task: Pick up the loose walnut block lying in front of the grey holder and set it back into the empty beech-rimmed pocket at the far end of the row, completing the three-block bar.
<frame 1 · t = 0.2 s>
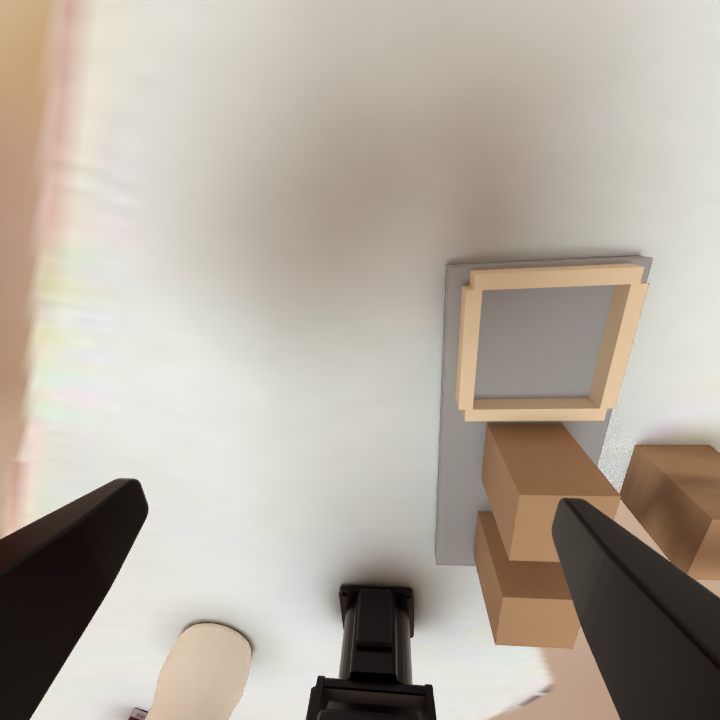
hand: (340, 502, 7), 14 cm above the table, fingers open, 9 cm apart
walnut block: (661, 472, 23), on the table
bottle: (218, 640, 36), on the table
holder: (515, 436, 23), on the table
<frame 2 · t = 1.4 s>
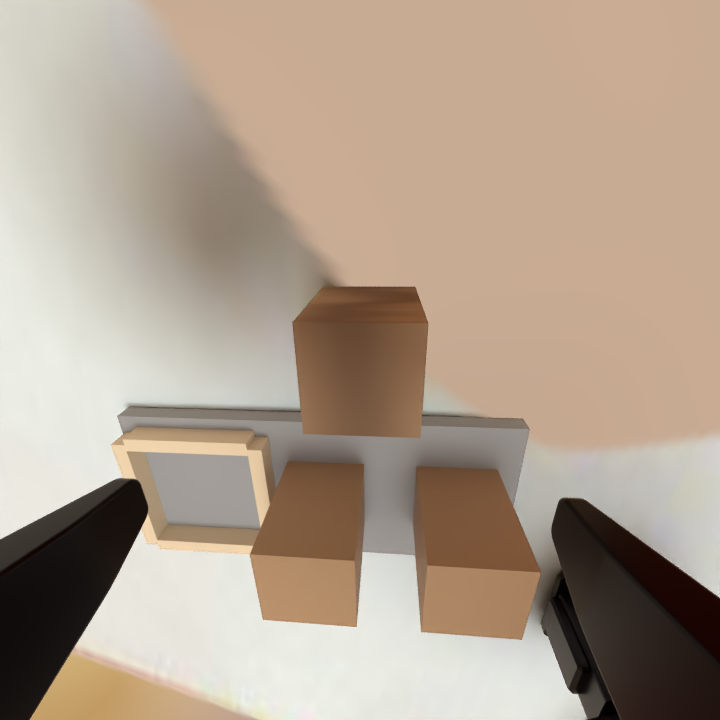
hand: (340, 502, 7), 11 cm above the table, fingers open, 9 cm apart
walnut block: (368, 330, 18), on the table
holder: (322, 480, 22), on the table
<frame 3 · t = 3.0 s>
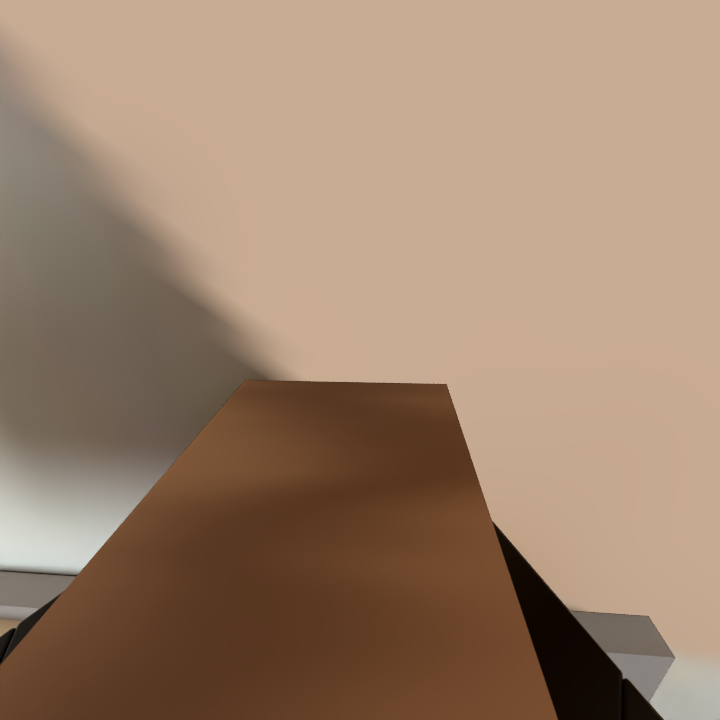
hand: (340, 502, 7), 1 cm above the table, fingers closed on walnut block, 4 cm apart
walnut block: (346, 463, 9), on the table, touching gripper
holder: (274, 678, 13), on the table
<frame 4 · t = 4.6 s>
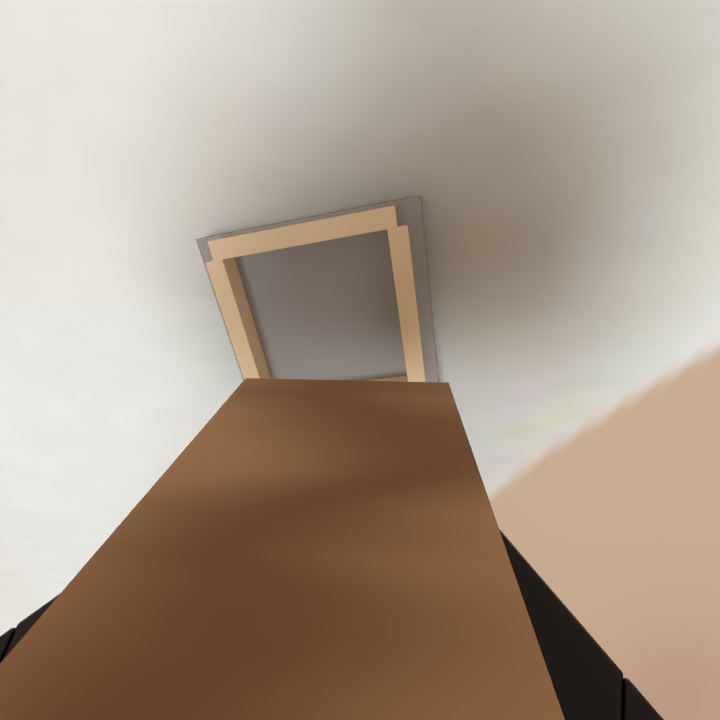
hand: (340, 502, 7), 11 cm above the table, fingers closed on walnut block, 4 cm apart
walnut block: (347, 461, 9), point 10 cm above the table, touching gripper
holder: (353, 429, 20), on the table
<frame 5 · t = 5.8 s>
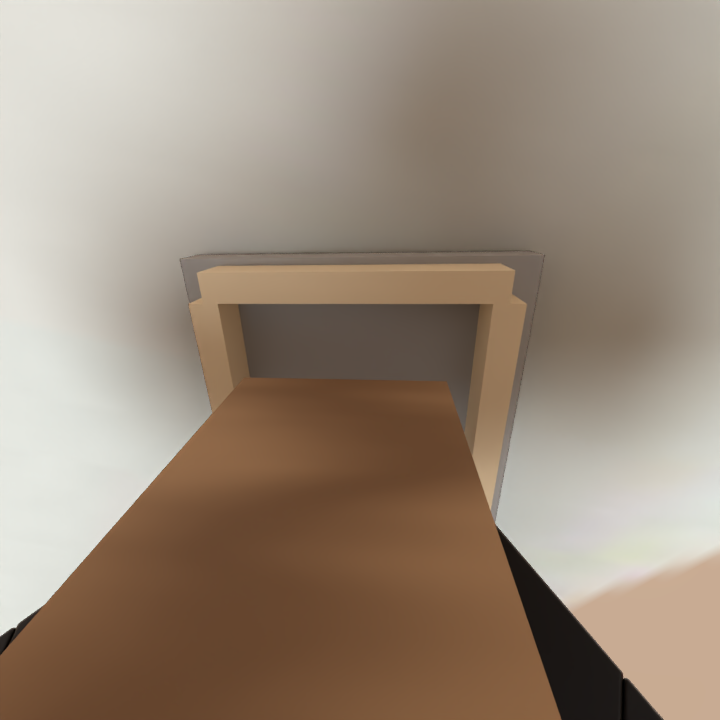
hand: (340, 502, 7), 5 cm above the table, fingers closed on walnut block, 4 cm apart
walnut block: (346, 461, 8), point 4 cm above the table, touching gripper
holder: (363, 530, 15), on the table
when the fingers open (3 cm above the table, at t = 6.5 s): walnut block drops 1 cm, resting on holder.
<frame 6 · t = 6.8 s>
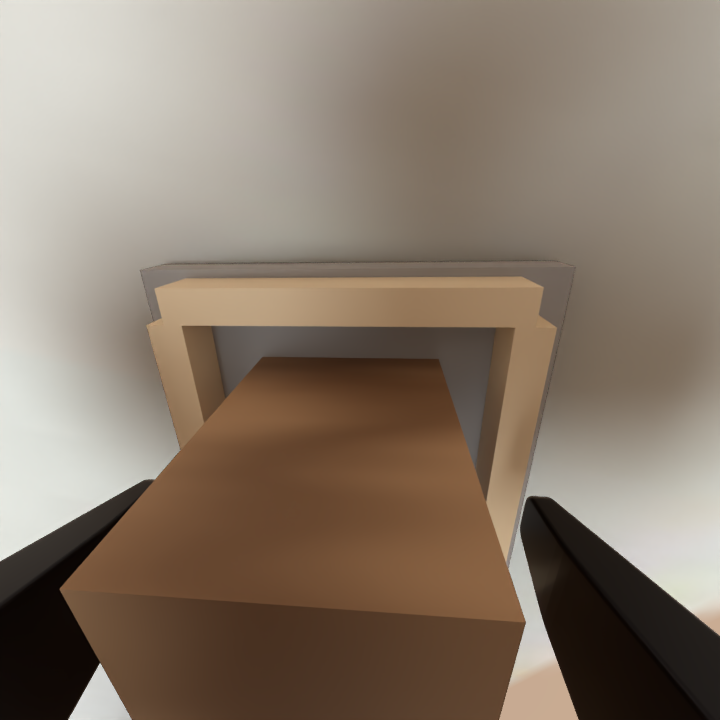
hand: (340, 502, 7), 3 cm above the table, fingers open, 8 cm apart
walnut block: (351, 431, 10), point 1 cm above the table, touching holder
holder: (359, 568, 13), on the table
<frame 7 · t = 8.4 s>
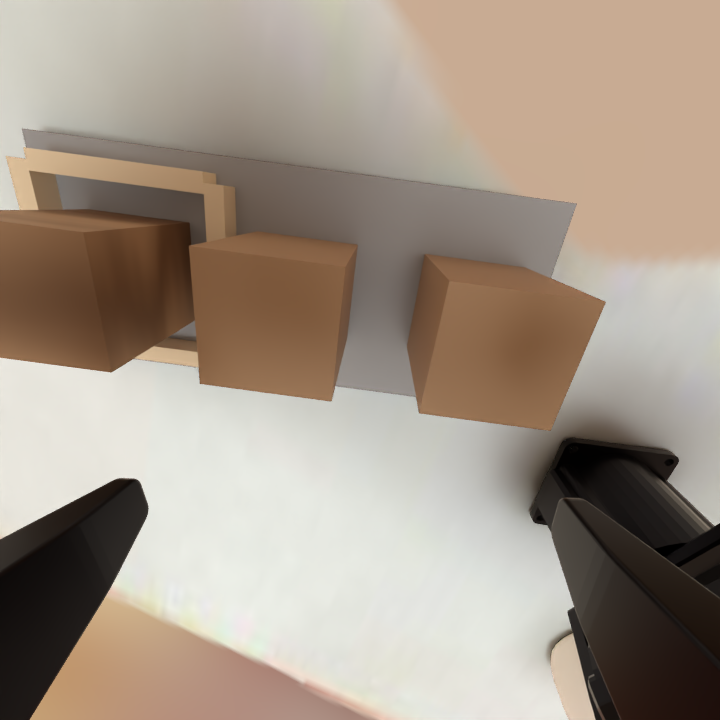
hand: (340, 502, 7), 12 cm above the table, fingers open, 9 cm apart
walnut block: (146, 267, 16), point 1 cm above the table, touching holder
bottle: (594, 648, 29), on the table
holder: (298, 282, 17), on the table
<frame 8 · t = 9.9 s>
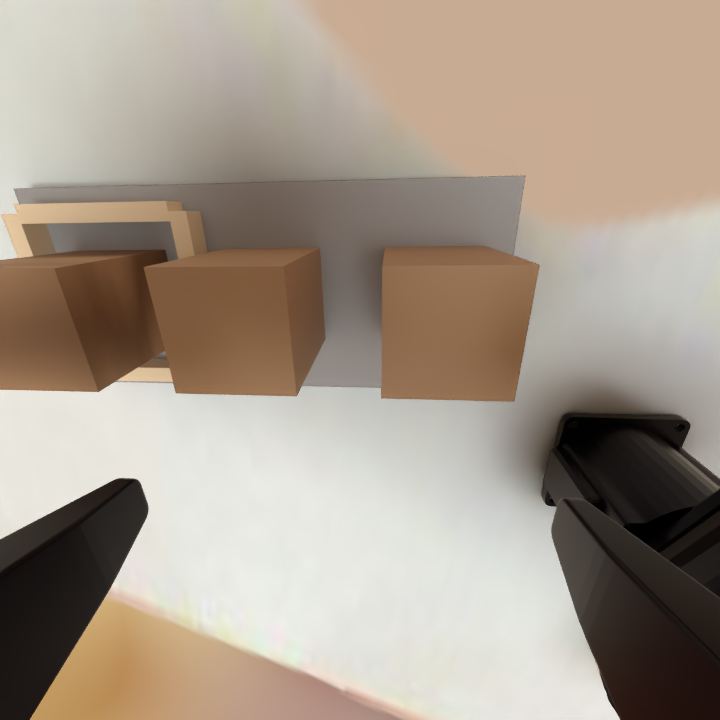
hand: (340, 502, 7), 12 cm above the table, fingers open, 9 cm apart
walnut block: (134, 296, 18), point 1 cm above the table, touching holder
holder: (274, 291, 18), on the table
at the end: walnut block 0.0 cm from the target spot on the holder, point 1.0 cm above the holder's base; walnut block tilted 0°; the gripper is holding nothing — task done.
